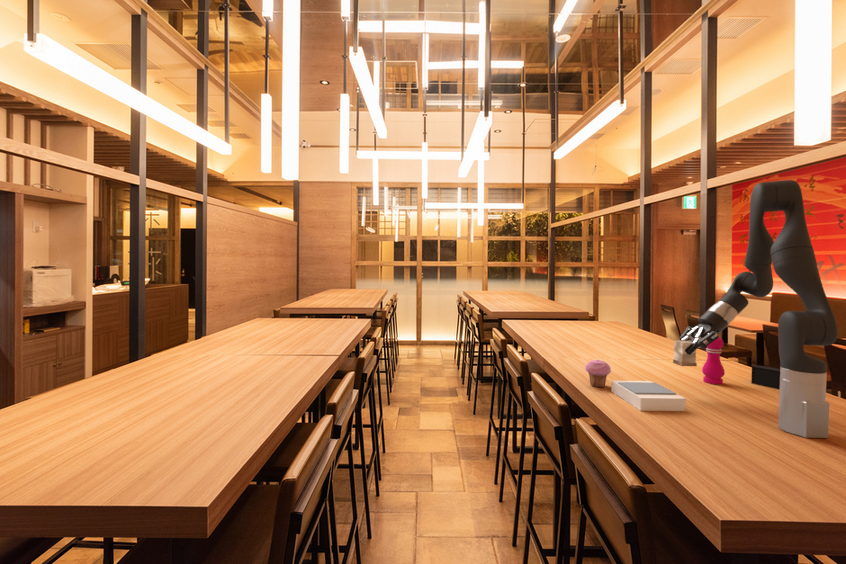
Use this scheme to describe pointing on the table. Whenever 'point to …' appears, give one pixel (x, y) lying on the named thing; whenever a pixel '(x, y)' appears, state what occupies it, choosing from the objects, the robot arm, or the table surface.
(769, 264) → the robot arm
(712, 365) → the pepper mill
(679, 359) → the memo note cube
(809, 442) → the table surface
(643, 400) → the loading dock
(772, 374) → the digital camera
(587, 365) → the cupcake
